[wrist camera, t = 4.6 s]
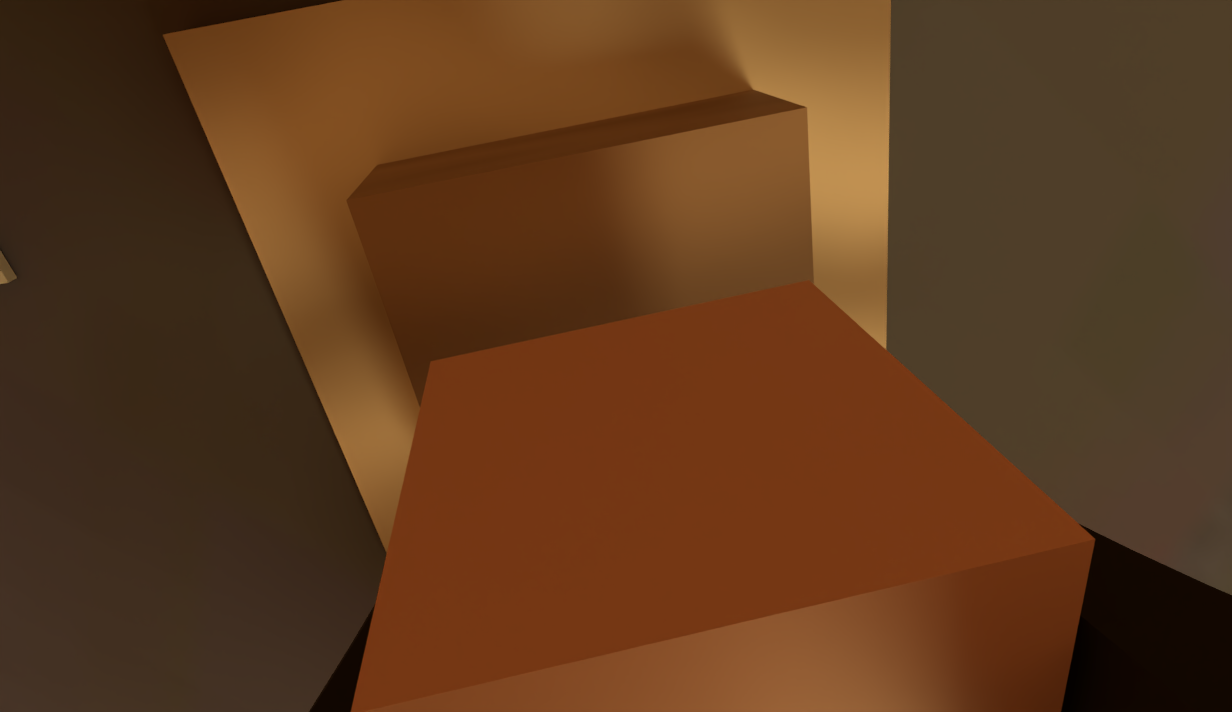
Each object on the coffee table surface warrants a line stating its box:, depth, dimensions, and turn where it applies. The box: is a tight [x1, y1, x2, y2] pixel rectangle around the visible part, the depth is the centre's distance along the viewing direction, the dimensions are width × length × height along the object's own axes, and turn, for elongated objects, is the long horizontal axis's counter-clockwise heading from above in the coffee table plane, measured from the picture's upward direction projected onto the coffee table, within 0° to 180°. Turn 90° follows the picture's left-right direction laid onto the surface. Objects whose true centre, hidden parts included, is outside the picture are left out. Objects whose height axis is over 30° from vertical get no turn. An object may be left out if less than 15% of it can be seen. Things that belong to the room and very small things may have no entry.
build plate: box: [163, 0, 891, 553], centre depth 17 cm, size 14×14×1 cm
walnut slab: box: [346, 90, 814, 406], centre depth 15 cm, size 8×8×3 cm
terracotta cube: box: [351, 280, 1095, 712], centre depth 8 cm, size 5×5×5 cm
